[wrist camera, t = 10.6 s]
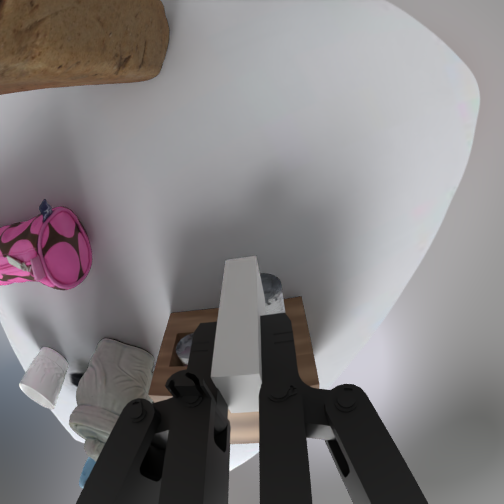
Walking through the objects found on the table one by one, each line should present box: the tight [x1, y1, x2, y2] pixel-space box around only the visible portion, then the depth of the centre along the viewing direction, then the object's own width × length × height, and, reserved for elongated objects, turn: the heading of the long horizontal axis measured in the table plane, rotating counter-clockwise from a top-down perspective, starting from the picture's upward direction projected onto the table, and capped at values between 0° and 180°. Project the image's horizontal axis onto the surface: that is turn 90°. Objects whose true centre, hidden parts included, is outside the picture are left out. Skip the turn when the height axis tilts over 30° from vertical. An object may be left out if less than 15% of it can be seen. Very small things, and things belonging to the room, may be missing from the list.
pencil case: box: [0, 199, 92, 290], centre depth 23 cm, size 21×10×10 cm, turn 99°
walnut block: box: [148, 297, 319, 444], centre depth 31 cm, size 14×16×12 cm
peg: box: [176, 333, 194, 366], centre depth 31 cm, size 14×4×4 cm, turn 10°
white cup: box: [19, 347, 69, 409], centre depth 37 cm, size 8×8×10 cm
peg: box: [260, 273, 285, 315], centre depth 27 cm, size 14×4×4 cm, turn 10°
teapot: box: [69, 339, 154, 462], centre depth 32 cm, size 16×15×19 cm
